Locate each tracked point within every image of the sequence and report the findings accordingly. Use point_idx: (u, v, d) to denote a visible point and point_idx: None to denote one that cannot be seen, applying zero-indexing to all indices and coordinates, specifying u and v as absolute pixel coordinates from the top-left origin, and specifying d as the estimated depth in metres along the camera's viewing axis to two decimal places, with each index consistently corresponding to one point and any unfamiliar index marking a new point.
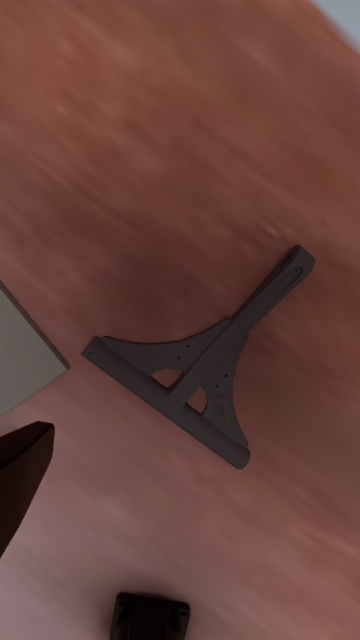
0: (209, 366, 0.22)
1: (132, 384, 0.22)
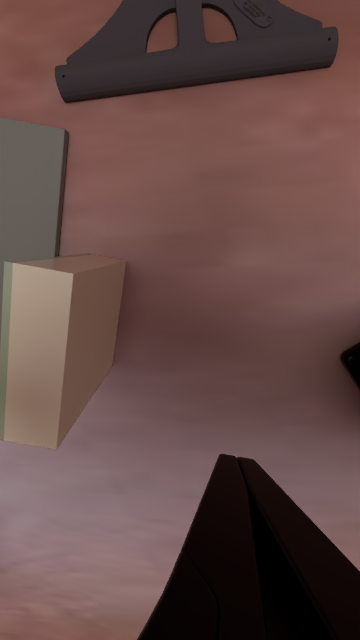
0: None
1: (132, 65, 0.16)
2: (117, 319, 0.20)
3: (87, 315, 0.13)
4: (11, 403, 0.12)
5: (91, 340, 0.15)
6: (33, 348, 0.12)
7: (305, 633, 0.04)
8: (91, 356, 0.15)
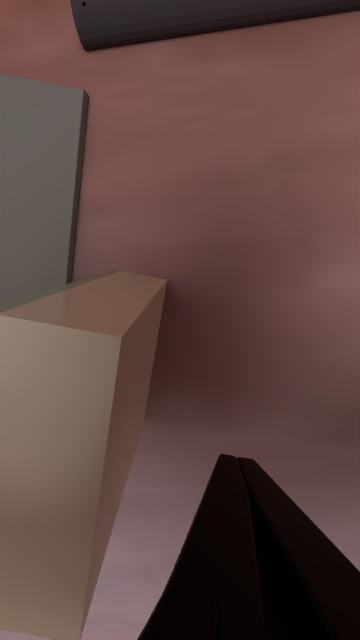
0: None
1: None
2: (153, 360, 0.15)
3: (130, 388, 0.08)
4: None
5: (130, 418, 0.09)
6: (37, 476, 0.06)
7: (305, 633, 0.04)
8: (128, 439, 0.10)
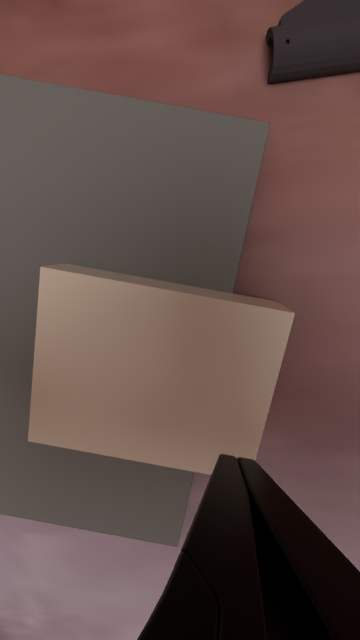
0: None
1: None
2: (260, 406, 0.12)
3: (93, 330, 0.12)
4: None
5: (118, 373, 0.12)
6: None
7: (304, 633, 0.04)
8: (124, 397, 0.12)
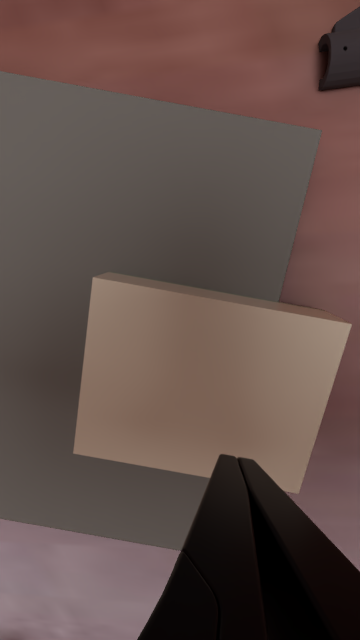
0: None
1: None
2: (313, 418, 0.12)
3: (144, 341, 0.11)
4: None
5: (169, 385, 0.12)
6: None
7: (304, 633, 0.04)
8: (174, 409, 0.12)
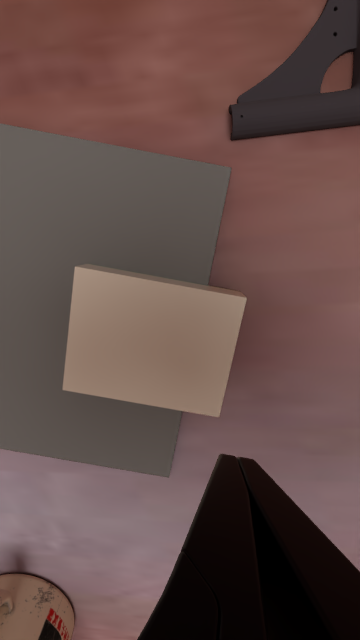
0: None
1: (313, 106, 0.16)
2: (225, 362, 0.17)
3: (110, 310, 0.17)
4: None
5: (127, 340, 0.17)
6: None
7: (305, 633, 0.04)
8: (131, 357, 0.17)
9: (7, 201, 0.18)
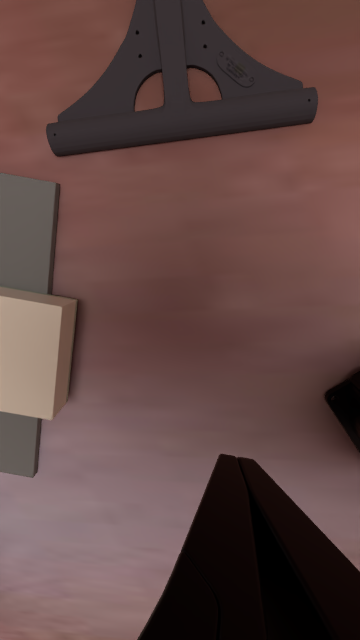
0: (174, 24, 0.16)
1: (121, 125, 0.17)
2: (51, 368, 0.18)
3: None
4: None
5: None
6: None
7: (305, 633, 0.04)
8: None
9: None
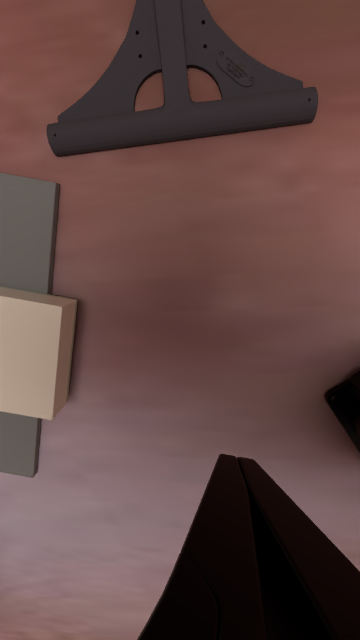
0: (174, 24, 0.16)
1: (121, 125, 0.17)
2: (51, 368, 0.18)
3: None
4: None
5: None
6: None
7: (305, 633, 0.04)
8: None
9: None
